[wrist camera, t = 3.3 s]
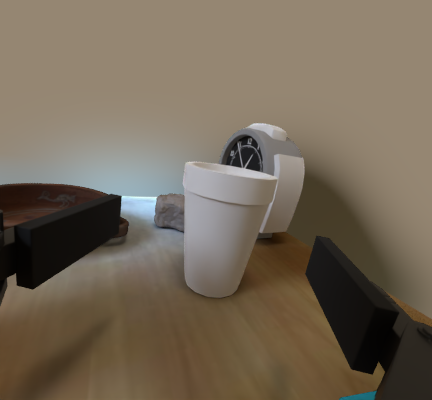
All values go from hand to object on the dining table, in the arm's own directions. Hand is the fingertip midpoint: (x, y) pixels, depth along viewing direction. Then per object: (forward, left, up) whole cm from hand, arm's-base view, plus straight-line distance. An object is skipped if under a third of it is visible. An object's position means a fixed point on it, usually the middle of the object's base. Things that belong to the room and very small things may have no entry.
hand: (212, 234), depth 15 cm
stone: (+3, -24, -10) cm, 26 cm away
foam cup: (-2, -9, -10) cm, 14 cm away
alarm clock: (-9, -29, -10) cm, 32 cm away
